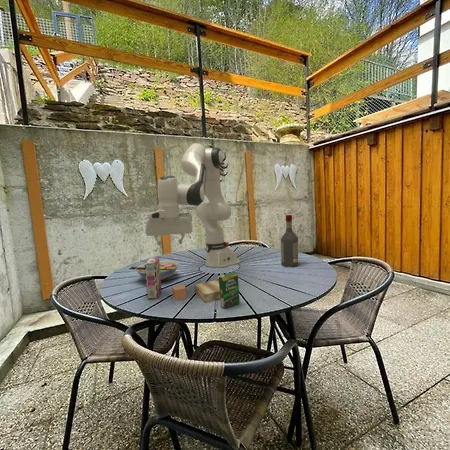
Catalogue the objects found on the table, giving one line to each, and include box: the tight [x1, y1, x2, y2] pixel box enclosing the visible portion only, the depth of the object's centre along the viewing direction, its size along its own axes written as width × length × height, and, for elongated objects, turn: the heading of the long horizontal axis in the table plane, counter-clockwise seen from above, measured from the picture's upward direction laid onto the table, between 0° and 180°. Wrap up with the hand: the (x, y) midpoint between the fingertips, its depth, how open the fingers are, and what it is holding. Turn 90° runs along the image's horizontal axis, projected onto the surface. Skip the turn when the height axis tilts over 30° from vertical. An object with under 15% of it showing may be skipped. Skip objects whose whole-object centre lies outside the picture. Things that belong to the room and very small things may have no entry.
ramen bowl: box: [128, 259, 180, 281], centre depth 146 cm, size 25×23×8 cm
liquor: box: [280, 214, 299, 268], centre depth 157 cm, size 9×9×30 cm
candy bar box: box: [144, 257, 162, 300], centre depth 123 cm, size 11×5×16 cm, turn 5°
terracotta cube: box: [171, 284, 187, 302], centre depth 118 cm, size 5×5×5 cm
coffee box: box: [218, 271, 241, 310], centre depth 107 cm, size 8×3×13 cm, turn 123°
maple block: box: [193, 279, 220, 303], centre depth 121 cm, size 12×14×4 cm
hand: (169, 244), depth 118 cm, fingers open, 8 cm apart
